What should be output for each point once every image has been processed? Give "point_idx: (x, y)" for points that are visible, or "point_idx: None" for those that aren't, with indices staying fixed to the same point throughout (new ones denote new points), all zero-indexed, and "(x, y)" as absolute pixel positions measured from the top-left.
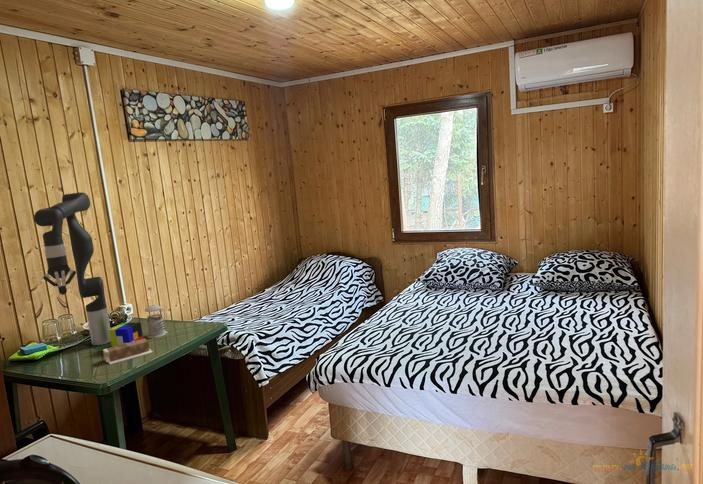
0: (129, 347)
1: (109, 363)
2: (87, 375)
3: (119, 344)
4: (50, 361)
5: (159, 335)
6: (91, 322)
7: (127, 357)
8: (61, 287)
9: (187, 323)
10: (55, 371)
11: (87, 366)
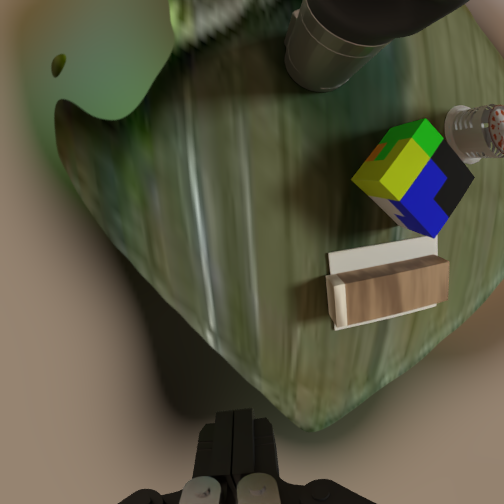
0: (401, 311)
1: (334, 326)
2: (277, 369)
3: (380, 201)
4: (159, 156)
5: (472, 161)
6: (314, 51)
7: None
8: (235, 498)
9: None
10: (188, 277)
11: (277, 299)
